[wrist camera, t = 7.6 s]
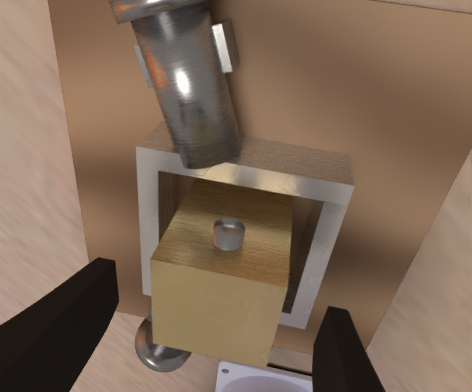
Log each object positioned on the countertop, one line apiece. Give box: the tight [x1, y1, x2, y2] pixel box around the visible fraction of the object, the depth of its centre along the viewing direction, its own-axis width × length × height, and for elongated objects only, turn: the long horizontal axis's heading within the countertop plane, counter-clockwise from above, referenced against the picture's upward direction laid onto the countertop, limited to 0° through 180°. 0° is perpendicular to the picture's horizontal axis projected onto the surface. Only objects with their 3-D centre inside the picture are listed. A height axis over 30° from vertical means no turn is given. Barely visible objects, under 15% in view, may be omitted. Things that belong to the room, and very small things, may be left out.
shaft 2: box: [135, 308, 192, 372], centre depth 18 cm, size 5×3×3 cm, turn 153°
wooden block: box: [150, 177, 294, 369], centre depth 14 cm, size 5×4×6 cm
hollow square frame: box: [136, 122, 355, 329], centre depth 15 cm, size 8×8×2 cm
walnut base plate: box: [48, 0, 472, 355], centre depth 16 cm, size 18×16×1 cm
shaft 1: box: [109, 0, 242, 169], centre depth 12 cm, size 5×3×3 cm, turn 13°
